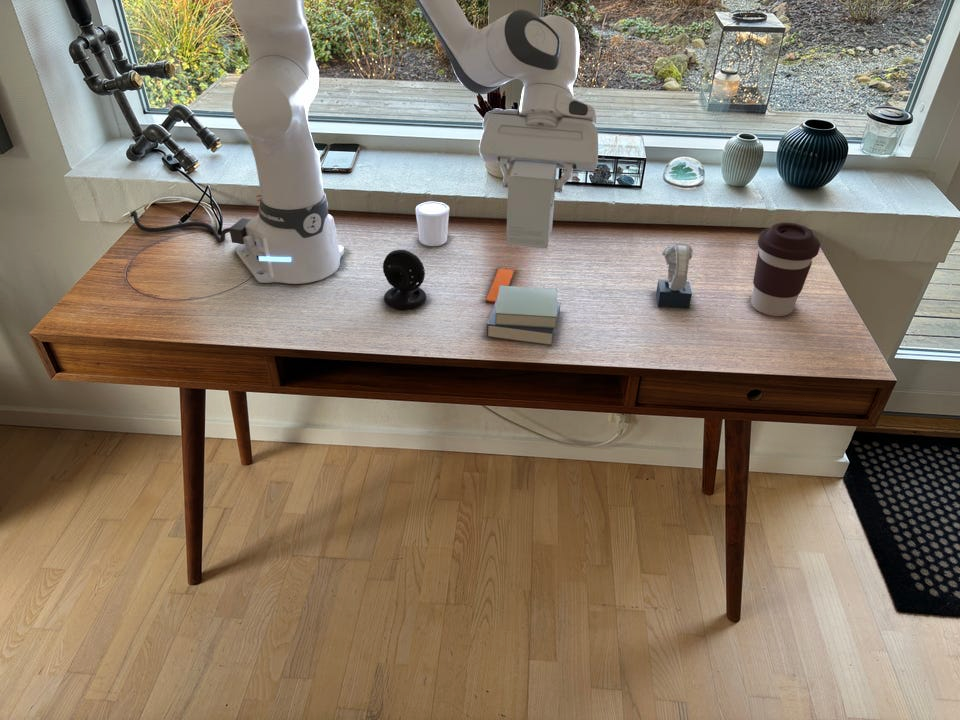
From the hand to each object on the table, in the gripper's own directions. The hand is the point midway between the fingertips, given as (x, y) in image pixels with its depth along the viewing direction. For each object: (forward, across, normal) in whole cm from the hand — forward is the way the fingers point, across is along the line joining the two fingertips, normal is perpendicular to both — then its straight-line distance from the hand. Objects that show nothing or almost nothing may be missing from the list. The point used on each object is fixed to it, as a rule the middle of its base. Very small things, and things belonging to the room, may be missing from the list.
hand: (532, 189), depth 132 cm
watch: (+12, +26, +17) cm, 33 cm away
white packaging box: (+7, 0, +6) cm, 9 cm away
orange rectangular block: (+14, -5, +15) cm, 21 cm away
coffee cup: (+11, +44, +18) cm, 48 cm away
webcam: (+20, -21, +9) cm, 30 cm away
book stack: (+22, +1, +6) cm, 23 cm away
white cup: (+3, -22, +26) cm, 34 cm away
